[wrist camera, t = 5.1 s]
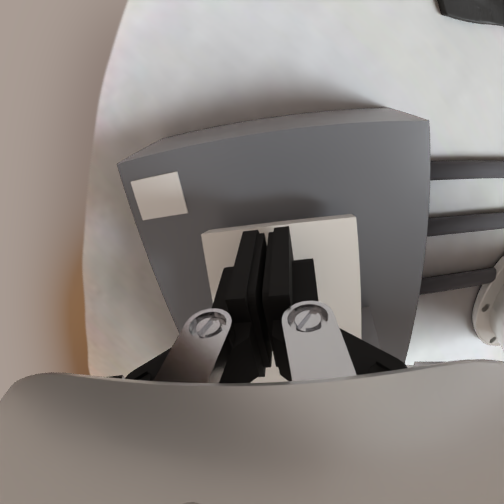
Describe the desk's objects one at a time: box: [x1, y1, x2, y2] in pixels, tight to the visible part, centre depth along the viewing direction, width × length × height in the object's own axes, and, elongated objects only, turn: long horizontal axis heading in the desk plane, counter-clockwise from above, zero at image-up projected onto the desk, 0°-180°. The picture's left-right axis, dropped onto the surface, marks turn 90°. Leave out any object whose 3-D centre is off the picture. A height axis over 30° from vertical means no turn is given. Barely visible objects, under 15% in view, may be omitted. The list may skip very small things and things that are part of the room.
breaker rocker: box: [201, 214, 361, 383], centre depth 14 cm, size 6×16×1 cm, turn 11°
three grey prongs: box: [419, 161, 504, 295], centre depth 18 cm, size 12×10×1 cm
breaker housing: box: [117, 108, 430, 364], centre depth 18 cm, size 14×22×11 cm, turn 11°
